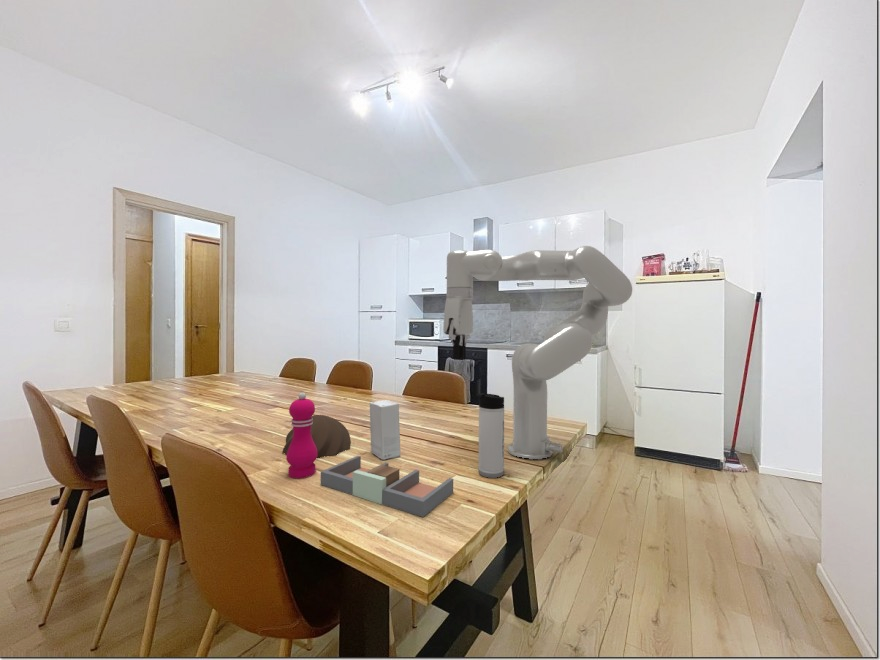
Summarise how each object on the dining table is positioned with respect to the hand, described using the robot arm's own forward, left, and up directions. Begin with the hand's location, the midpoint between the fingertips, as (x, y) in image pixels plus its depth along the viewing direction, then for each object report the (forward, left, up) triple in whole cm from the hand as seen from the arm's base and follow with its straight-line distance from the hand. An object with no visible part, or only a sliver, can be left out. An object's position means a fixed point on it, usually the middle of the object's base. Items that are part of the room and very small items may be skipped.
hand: (459, 359), depth 104 cm
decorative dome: (+39, +17, -28) cm, 51 cm away
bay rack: (+4, +28, -27) cm, 39 cm away
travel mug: (-13, +8, -27) cm, 31 cm away
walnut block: (+4, +29, -27) cm, 40 cm away
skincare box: (+18, +11, -27) cm, 35 cm away
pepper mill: (+27, +32, -27) cm, 50 cm away
